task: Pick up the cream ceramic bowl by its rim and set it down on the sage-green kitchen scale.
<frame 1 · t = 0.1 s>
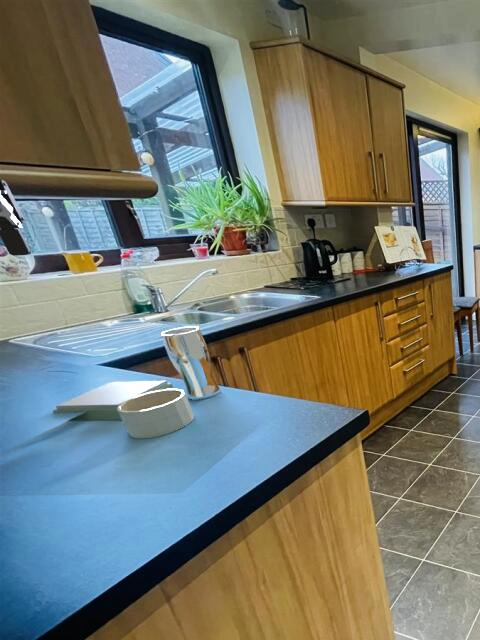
hand: (5, 257, 58), 33 cm above the counter, tool pointing down, fingers open, 8 cm apart
beer glass: (204, 395, 91), on the counter
scale: (120, 405, 87), on the counter
bowl: (163, 425, 78), on the counter
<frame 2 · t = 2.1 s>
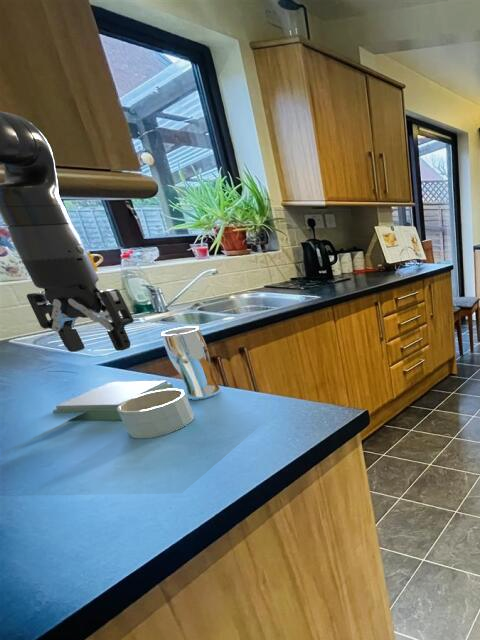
hand: (100, 349, 71), 16 cm above the counter, tool pointing down, fingers open, 8 cm apart
nothing on the counter moved.
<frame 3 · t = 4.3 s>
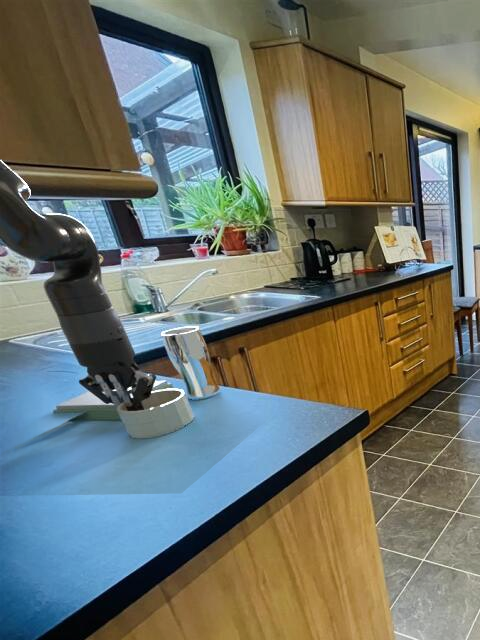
hand: (137, 420, 78), 1 cm above the counter, tool pointing down, fingers closed on bowl
bowl: (163, 425, 78), on the counter, touching gripper
everything else where it was.
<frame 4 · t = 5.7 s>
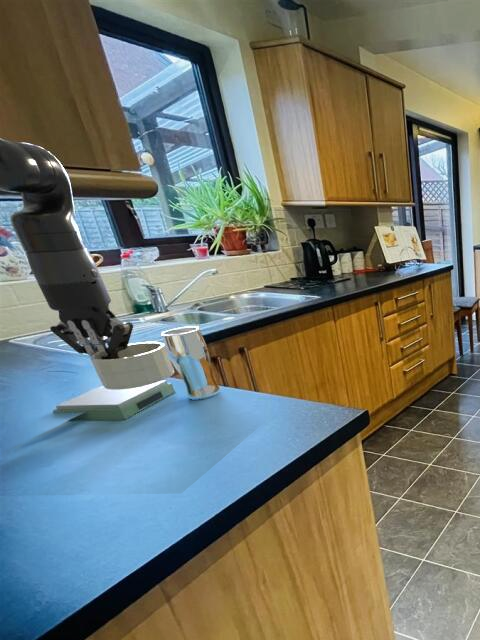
hand: (113, 373, 74), 11 cm above the counter, tool pointing down, fingers closed on bowl
bowl: (140, 378, 74), point 10 cm above the counter, touching gripper
everything else where it was.
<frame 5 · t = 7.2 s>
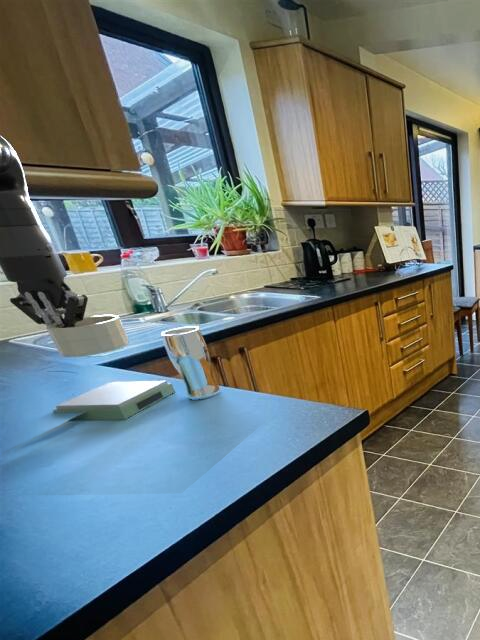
hand: (71, 344, 79), 15 cm above the counter, tool pointing down, fingers closed on bowl
bowl: (96, 348, 79), point 14 cm above the counter, touching gripper
everything else where it was.
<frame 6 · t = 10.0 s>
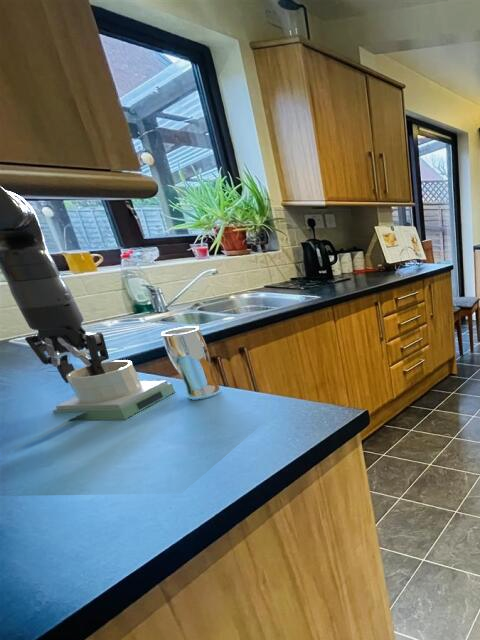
hand: (86, 381, 85), 6 cm above the counter, tool pointing down, fingers open, 5 cm apart
bowl: (111, 392, 86), point 3 cm above the counter, touching scale
everything else where it was.
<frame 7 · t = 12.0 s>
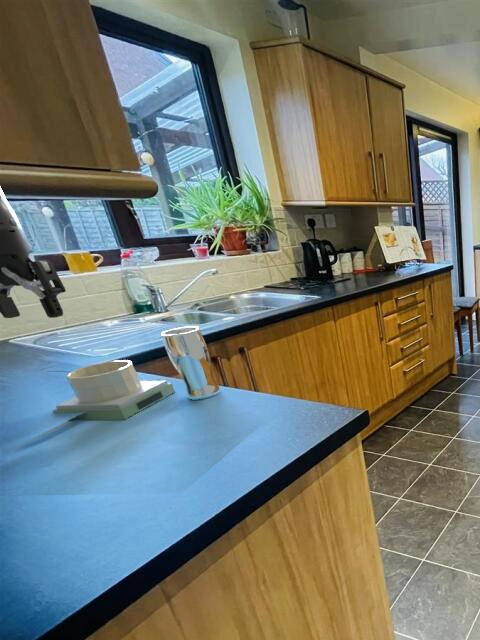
hand: (34, 317, 77), 20 cm above the counter, tool pointing down, fingers open, 8 cm apart
nothing on the counter moved.
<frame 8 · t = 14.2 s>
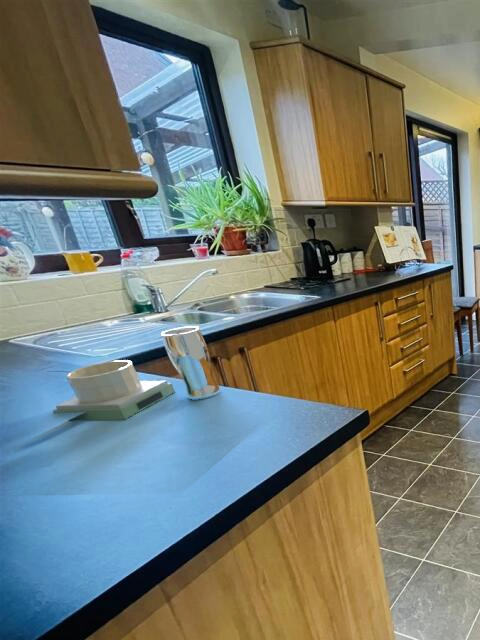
nothing on the counter moved.
at the end: bowl 0.5 cm off-centre on the scale, point 3.2 cm above the scale's base; bowl tilted 0°; the gripper is holding nothing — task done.
